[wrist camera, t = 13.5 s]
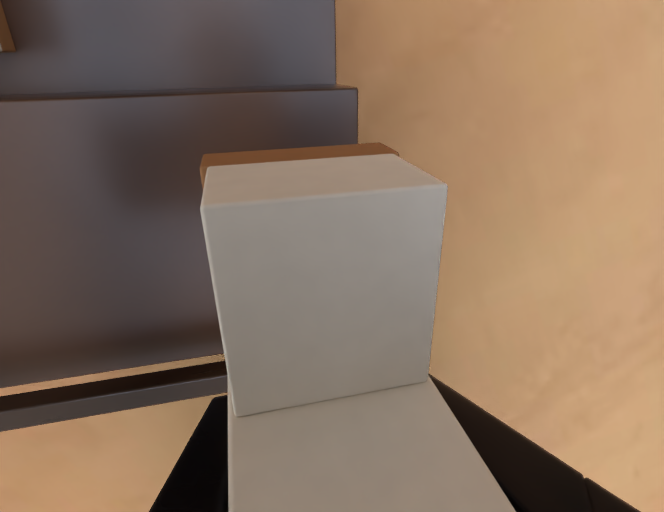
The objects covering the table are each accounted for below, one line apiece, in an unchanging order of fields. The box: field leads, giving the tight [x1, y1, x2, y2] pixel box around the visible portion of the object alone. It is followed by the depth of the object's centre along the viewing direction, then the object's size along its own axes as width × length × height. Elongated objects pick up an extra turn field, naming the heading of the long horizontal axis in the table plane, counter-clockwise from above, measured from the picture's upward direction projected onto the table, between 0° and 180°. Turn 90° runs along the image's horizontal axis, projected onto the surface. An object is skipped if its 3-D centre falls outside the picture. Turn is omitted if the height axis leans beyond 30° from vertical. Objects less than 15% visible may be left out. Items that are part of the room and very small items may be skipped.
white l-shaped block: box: [200, 143, 516, 512], centre depth 6 cm, size 7×3×5 cm, turn 1°
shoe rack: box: [0, 0, 358, 432], centre depth 13 cm, size 15×19×6 cm
